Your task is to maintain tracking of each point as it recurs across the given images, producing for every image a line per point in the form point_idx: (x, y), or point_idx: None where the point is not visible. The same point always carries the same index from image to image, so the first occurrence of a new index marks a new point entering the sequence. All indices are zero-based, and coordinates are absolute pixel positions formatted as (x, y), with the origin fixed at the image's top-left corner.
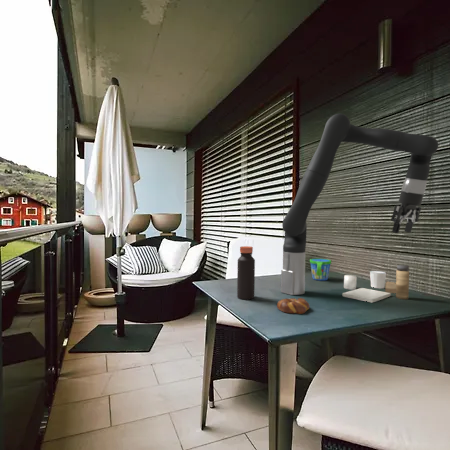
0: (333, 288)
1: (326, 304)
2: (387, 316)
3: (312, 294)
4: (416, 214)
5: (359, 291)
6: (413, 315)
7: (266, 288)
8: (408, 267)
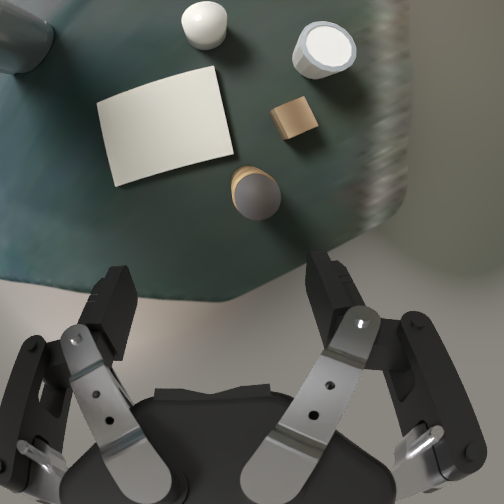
0: (154, 22)
1: (22, 161)
2: (75, 274)
3: (51, 71)
4: (405, 416)
5: (159, 100)
6: None
7: None
8: (263, 218)
